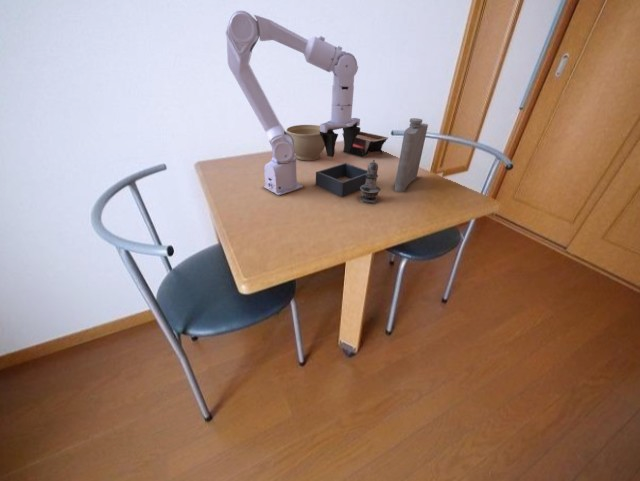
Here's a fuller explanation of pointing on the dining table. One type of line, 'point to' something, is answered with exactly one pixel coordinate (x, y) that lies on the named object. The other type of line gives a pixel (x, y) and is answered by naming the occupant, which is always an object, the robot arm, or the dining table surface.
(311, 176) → the dining table surface
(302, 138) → the planter bowl
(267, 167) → the robot arm
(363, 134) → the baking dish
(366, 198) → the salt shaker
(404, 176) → the hip flask
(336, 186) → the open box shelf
